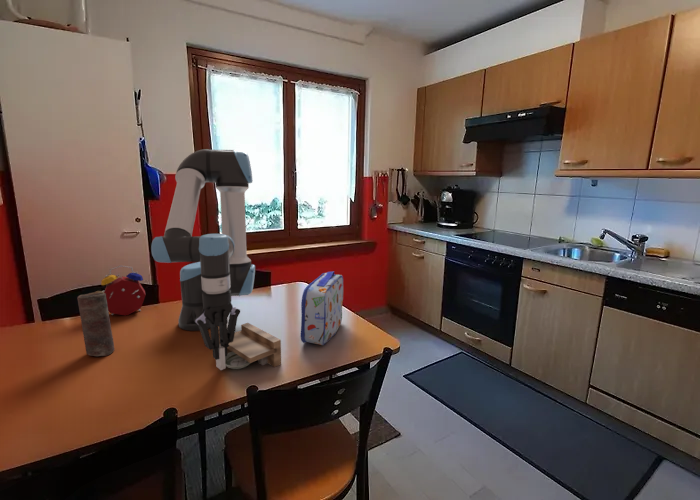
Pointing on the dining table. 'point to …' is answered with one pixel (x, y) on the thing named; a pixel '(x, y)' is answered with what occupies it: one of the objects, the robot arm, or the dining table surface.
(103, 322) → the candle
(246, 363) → the saucer
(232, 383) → the dining table surface
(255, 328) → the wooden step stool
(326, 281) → the lunch box
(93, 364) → the dining table surface
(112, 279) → the alarm clock
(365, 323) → the dining table surface
